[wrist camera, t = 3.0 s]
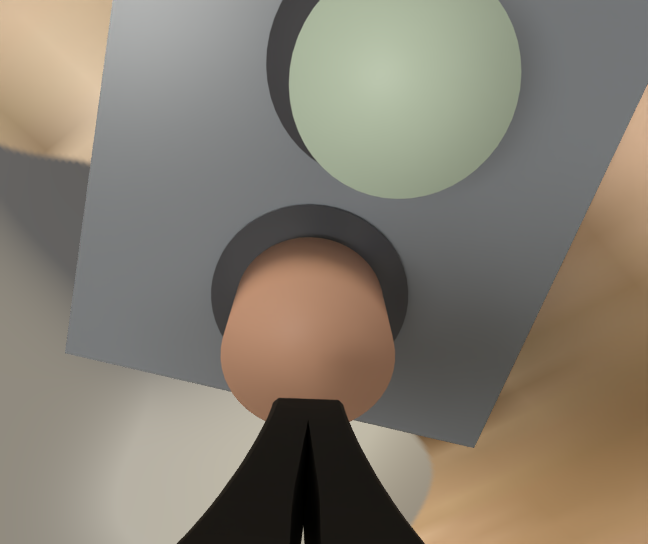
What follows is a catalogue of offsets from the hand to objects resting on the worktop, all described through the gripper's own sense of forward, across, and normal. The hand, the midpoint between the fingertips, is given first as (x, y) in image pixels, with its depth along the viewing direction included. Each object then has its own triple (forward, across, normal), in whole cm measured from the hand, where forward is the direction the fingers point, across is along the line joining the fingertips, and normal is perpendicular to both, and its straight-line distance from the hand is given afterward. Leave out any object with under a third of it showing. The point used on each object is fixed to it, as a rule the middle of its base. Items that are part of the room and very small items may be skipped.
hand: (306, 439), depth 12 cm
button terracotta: (+6, 0, 0) cm, 6 cm away
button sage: (+5, -2, -7) cm, 9 cm away
